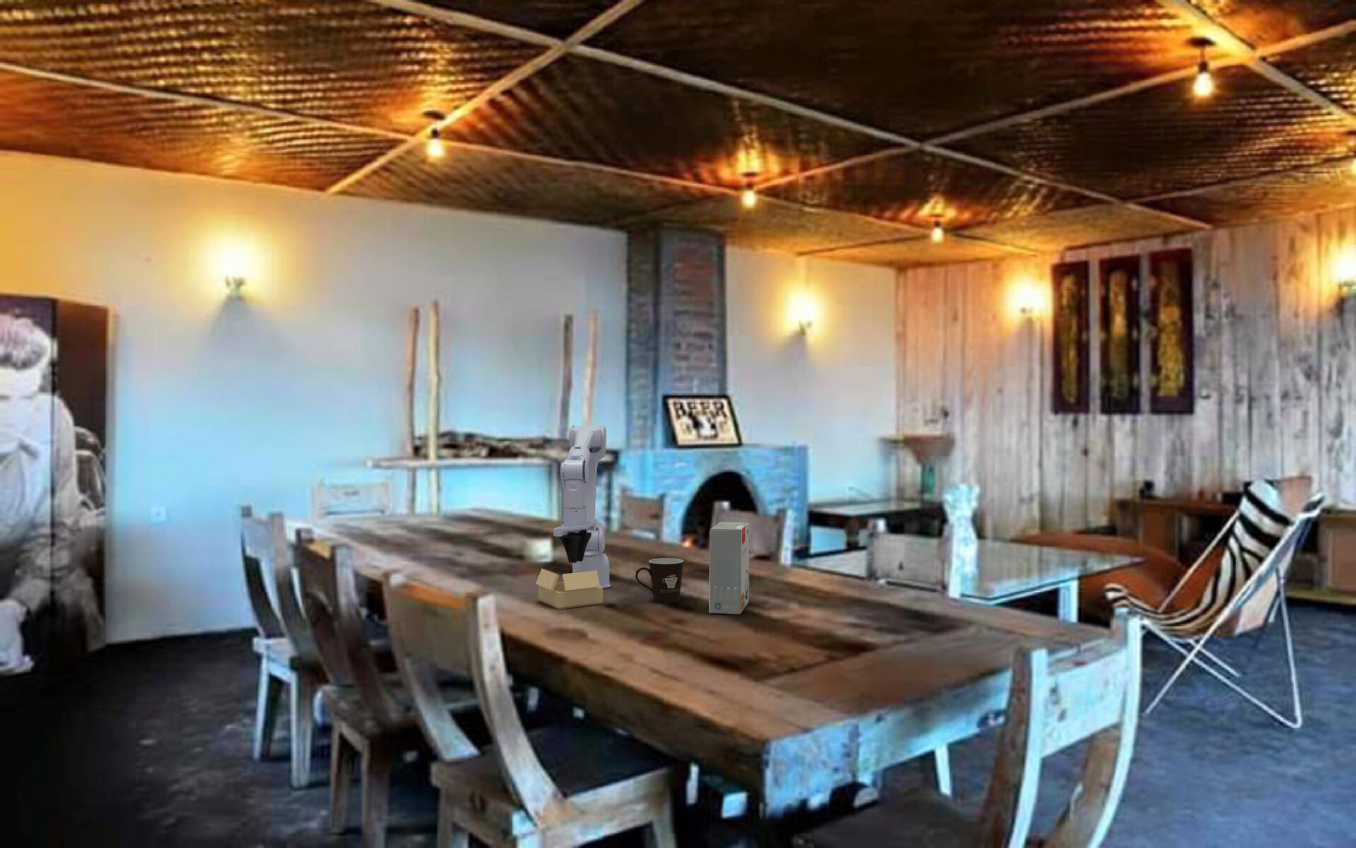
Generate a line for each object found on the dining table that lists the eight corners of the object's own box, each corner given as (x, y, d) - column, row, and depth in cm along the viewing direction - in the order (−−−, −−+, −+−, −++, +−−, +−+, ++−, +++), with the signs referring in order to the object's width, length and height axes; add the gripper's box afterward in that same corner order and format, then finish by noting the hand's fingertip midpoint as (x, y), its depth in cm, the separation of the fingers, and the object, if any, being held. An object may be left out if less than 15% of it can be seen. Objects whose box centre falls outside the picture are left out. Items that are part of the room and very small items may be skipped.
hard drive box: (741, 615, 218) (740, 529, 218) (708, 614, 220) (708, 529, 219) (749, 601, 234) (749, 521, 233) (719, 600, 235) (718, 520, 235)
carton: (582, 595, 243) (581, 580, 243) (603, 603, 233) (602, 587, 232) (538, 600, 237) (538, 584, 236) (558, 609, 226) (558, 592, 226)
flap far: (544, 569, 236) (541, 568, 235) (559, 575, 228) (556, 574, 228) (538, 584, 235) (535, 583, 234) (553, 590, 227) (550, 589, 227)
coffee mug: (685, 597, 239) (685, 558, 239) (682, 604, 230) (681, 564, 230) (639, 597, 240) (639, 558, 240) (635, 604, 232) (634, 563, 231)
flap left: (595, 571, 232) (596, 570, 232) (598, 587, 231) (599, 586, 230) (561, 575, 228) (563, 574, 227) (564, 591, 226) (566, 590, 226)
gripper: (580, 504, 243) (581, 556, 243) (543, 509, 231) (544, 564, 231) (602, 505, 239) (603, 558, 240) (566, 511, 227) (566, 567, 227)
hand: (575, 562), depth 235 cm, fingers closed
